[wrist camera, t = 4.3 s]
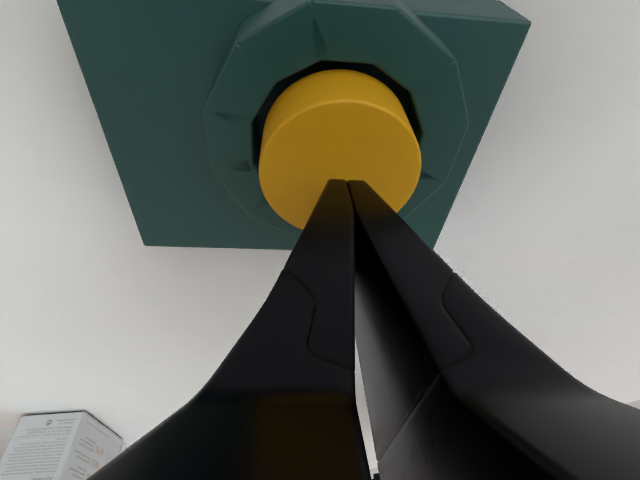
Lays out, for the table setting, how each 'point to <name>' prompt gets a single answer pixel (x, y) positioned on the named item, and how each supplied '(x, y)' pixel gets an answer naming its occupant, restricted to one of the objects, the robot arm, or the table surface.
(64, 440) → the small box
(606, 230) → the table surface
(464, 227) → the table surface
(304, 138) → the cylinder
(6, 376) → the table surface
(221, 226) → the teal square base
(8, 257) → the table surface
